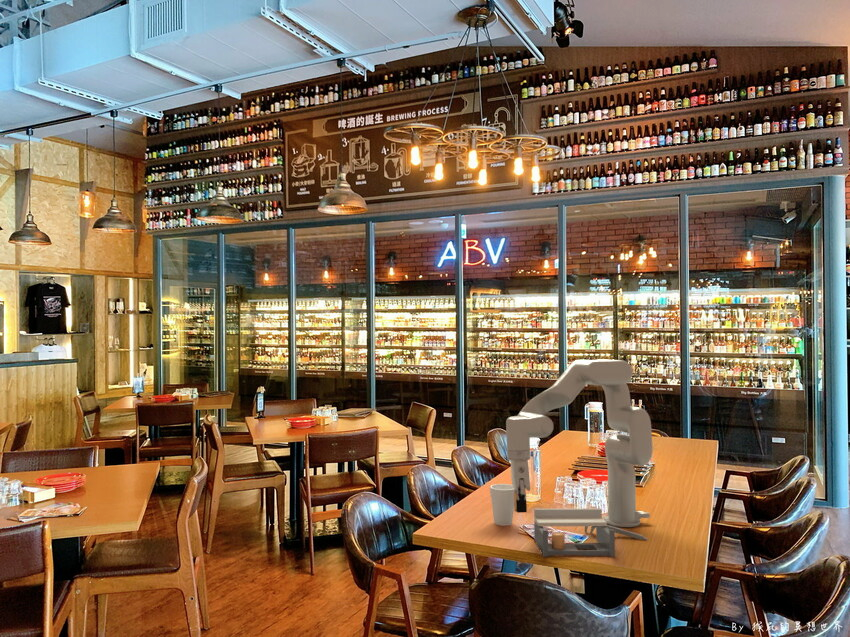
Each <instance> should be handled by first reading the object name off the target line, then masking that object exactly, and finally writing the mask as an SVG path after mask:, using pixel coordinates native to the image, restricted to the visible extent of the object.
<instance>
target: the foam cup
mask: <svg viewBox="0 0 850 637" xmlns="http://www.w3.org/2000/svg"><path fill="white" fill-rule="evenodd" d="M489 494H490V499H491V500H490V501H491V507H492V515H493V521H494V524H495V525H497V526H504V527H505V526H506V525H507V526H512V524H513V519H514V512H515V511H514V487H513V485H512V484H510V483H496V484H491V485H489Z"/></svg>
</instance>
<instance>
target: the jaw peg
mask: <svg viewBox="0 0 850 637" xmlns="http://www.w3.org/2000/svg"><path fill="white" fill-rule="evenodd" d="M519 493H520V492H519ZM516 500H517V493H514V512H516V513H518V512H517V506H516Z"/></svg>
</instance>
